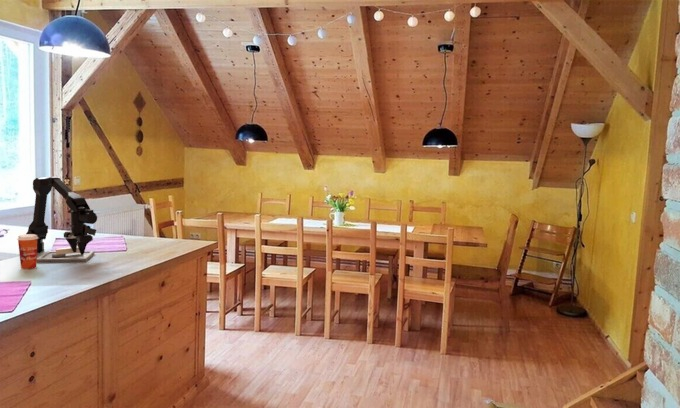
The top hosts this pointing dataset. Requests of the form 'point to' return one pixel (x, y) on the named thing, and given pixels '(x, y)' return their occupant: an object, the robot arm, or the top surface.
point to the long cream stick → (64, 252)
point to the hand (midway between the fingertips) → (78, 253)
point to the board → (65, 257)
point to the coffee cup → (28, 250)
